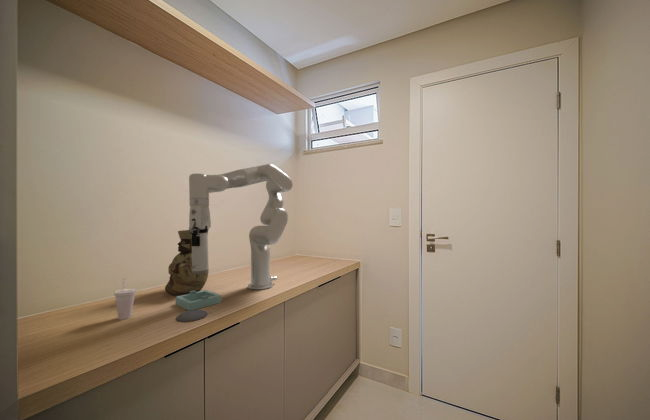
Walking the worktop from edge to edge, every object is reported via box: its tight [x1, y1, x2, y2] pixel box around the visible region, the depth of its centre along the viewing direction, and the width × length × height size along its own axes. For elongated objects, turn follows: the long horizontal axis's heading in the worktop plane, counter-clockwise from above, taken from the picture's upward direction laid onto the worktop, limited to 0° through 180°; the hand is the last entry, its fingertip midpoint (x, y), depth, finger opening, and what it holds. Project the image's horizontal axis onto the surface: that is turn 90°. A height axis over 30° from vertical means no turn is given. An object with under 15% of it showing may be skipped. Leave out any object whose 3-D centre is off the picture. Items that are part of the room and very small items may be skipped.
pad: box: [176, 309, 208, 323], centre depth 94 cm, size 10×10×1 cm
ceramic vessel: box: [164, 229, 209, 297], centre depth 127 cm, size 19×21×30 cm
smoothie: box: [113, 278, 137, 321], centre depth 94 cm, size 6×6×14 cm
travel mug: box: [191, 226, 210, 274], centre depth 109 cm, size 6×7×20 cm
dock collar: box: [175, 289, 222, 311], centre depth 109 cm, size 13×13×4 cm
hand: (200, 244), depth 110 cm, fingers closed on travel mug, 6 cm apart
